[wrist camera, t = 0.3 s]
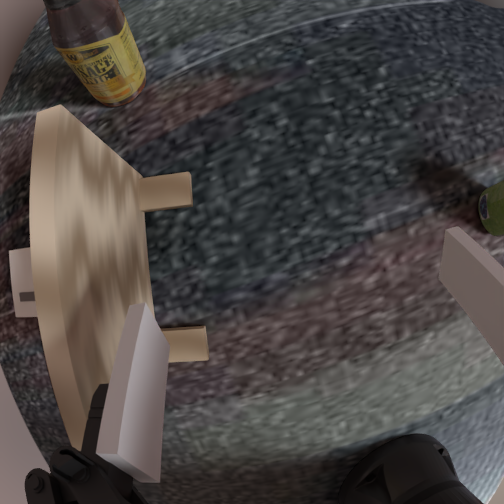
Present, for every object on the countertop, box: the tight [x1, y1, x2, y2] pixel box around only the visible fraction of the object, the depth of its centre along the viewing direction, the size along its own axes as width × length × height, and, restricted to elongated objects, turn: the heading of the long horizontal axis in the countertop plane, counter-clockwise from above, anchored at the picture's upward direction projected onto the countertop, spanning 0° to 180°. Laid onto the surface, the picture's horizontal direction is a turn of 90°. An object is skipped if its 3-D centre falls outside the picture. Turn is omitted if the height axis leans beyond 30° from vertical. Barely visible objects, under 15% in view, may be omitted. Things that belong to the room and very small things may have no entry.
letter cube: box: [9, 247, 38, 317], centre depth 25 cm, size 6×6×6 cm
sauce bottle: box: [43, 0, 146, 107], centre depth 19 cm, size 6×6×20 cm
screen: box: [30, 105, 209, 451], centre depth 20 cm, size 18×6×16 cm, turn 6°
